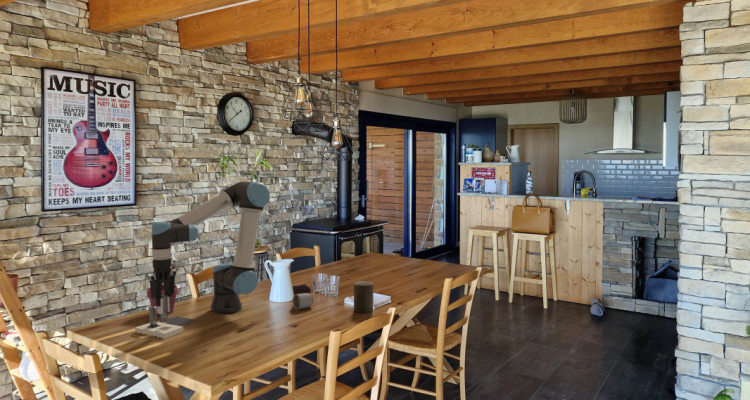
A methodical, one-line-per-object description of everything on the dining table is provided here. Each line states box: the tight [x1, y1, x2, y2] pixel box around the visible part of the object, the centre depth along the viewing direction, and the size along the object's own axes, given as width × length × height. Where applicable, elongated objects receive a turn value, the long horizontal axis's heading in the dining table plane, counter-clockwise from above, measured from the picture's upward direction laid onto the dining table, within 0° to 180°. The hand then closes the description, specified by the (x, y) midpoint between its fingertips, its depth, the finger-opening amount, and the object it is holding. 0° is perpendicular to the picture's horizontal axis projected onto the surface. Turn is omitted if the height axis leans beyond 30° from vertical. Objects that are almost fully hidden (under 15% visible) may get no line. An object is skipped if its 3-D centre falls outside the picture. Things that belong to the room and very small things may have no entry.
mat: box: [165, 316, 198, 327], centre depth 243 cm, size 14×14×1 cm
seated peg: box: [148, 305, 158, 328], centre depth 231 cm, size 3×3×11 cm
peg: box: [159, 295, 168, 322], centre depth 227 cm, size 3×3×11 cm
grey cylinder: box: [292, 292, 314, 311], centre depth 267 cm, size 11×8×8 cm
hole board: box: [134, 321, 184, 340], centre depth 229 cm, size 10×18×2 cm, turn 63°
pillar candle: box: [353, 280, 374, 314], centre depth 260 cm, size 10×10×15 cm
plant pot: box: [146, 284, 179, 316], centre depth 259 cm, size 14×14×13 cm
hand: (163, 312), depth 227 cm, fingers closed on peg, 3 cm apart
